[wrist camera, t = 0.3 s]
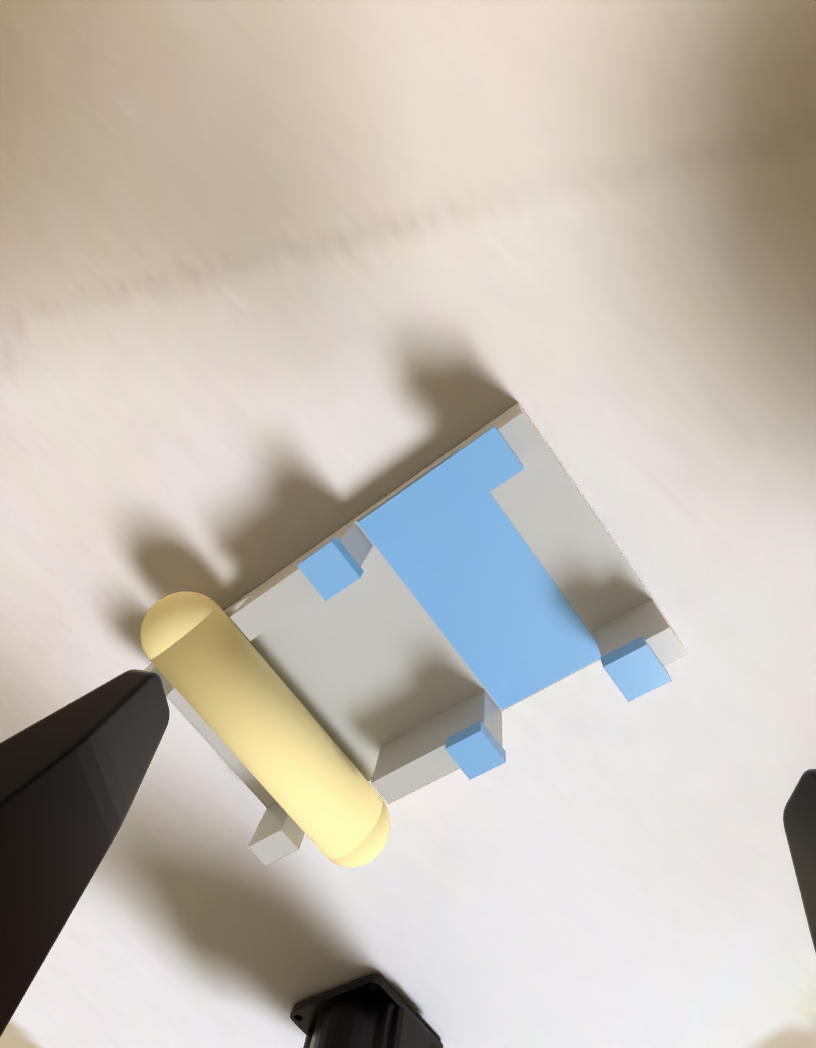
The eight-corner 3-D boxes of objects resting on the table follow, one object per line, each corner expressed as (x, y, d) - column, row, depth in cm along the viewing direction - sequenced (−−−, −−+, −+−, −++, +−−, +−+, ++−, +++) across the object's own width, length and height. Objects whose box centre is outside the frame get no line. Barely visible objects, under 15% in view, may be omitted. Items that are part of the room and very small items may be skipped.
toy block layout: (292, 812, 28) (262, 881, 24) (152, 655, 26) (99, 705, 23) (663, 615, 22) (697, 668, 18) (515, 397, 20) (519, 409, 17)
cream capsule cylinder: (409, 807, 25) (398, 869, 22) (355, 833, 26) (338, 896, 23) (205, 564, 23) (162, 597, 20) (154, 603, 24) (105, 640, 21)
